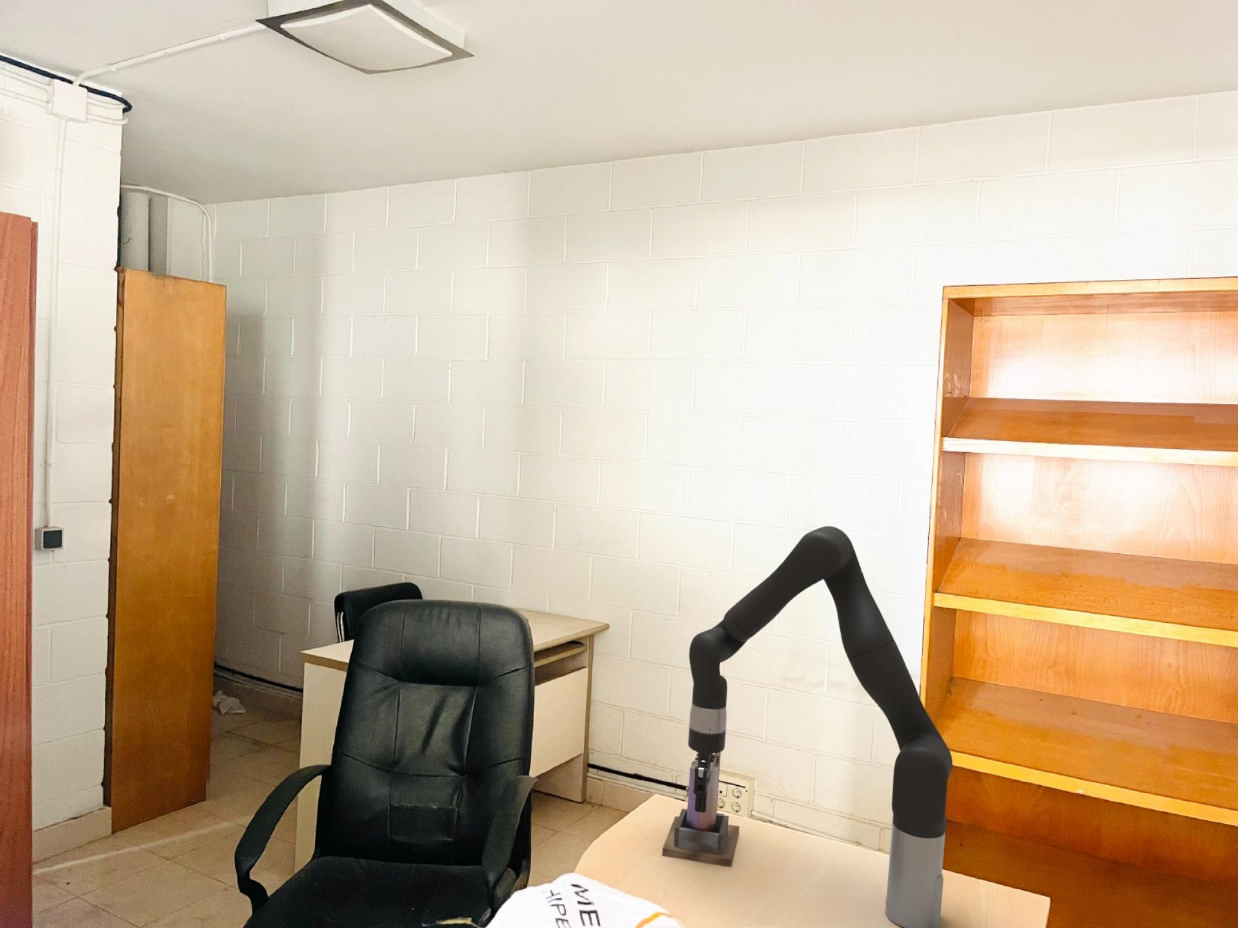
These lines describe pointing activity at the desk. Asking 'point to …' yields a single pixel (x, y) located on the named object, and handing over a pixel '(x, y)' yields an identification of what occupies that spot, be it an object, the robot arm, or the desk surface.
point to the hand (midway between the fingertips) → (702, 804)
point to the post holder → (702, 839)
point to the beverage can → (707, 818)
